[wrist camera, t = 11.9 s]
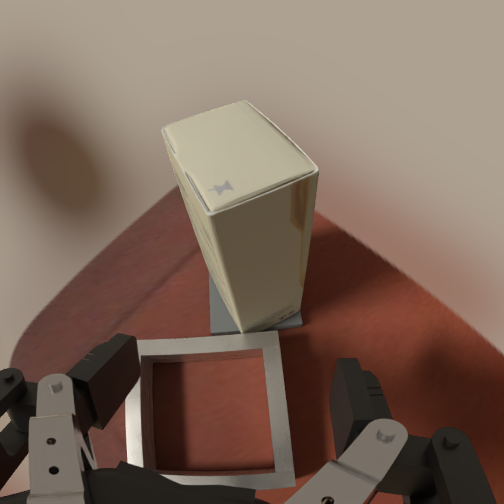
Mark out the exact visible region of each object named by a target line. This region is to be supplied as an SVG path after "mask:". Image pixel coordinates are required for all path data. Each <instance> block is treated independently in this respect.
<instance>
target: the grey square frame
mask: <svg viewBox="0 0 504 504" xmlns="http://www.w3.org/2000/svg"><path fill="white" fill-rule="evenodd" d="M137 346H138V353H139V360H140V367H141V373H140V378H139V380H138V382H137V383H136V385H135V386H134V388H133V389H132V390H131V392H130V393H129V394H128V396H127V397H126V440H127V458H128V463H129V464H133V465H136V466H139V467H143V468H146V469H150V470H152V471H154V472H156V473H158V474H160V475H162V476H164V477H166V478H168V479H170V480H172V481H175V482H177V483H179V484H183V485H226V486H234V487H242V488H251V489H256V490H266V489H277V488H286V487H294V486H296V484H295V475H294V465H293V456H292V447H291V438H290V429H289V420H288V412H287V403H286V394H285V386H284V377H283V369H282V361H281V353H280V345H279V337H278V330H275V331H266V332H256V333H246V334H235V335H223V336H210V337H196V338H179V339H158V340H137ZM262 356H263V357H264V367H265V377H266V386H267V396H268V405H269V415H270V424H271V434H272V444H273V453H274V463H275V468H268V469H256V470H240V471H172V470H157V469H156V456H155V441H154V419H153V363H176V362H199V361H215V360H229V359H241V358H252V357H262Z"/></svg>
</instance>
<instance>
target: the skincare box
mask: <svg viewBox="0 0 504 504" xmlns="http://www.w3.org/2000/svg"><path fill="white" fill-rule="evenodd" d="M161 131H162V135H163V138H164V142H165V145H166V148H167V151H168V154H169V157H170V160H171V163H172V167H173V169H174V173H175V175H176V179H177V182H178V185H179V188H180V191H181V194H182V196H183V199H184V202H185V205H186V208H187V211H188V214H189V217H190V220H191V222H192V225H193V228H194V231H195V234H196V237H197V239H198V242H199V245H200V248H201V251H202V253H203V256H204V259H205V262H206V264H207V267H208V270H209V272H210V274H211V276H212V279H213V281H214V283H215V285H216V287H217V289H218V291H219V293H220V295H221V297H222V299H223V301H224V303H225V305H226V307H227V309H228V311H229V313H230V314H231V316H232V318H233V320H234V322H235V323H236V325H237V327H238V329H239V330H240V332H241V334H246V333H256V332H259V331H262V330H264V329H266V328H268V327H270V326H272V325H274V324H276V323H278V322H280V321H282V320H284V319H286V318H287V317H289V316H291V315H293V314H294V313H296V312H298V311H299V310H300V307H301V301H302V294H303V288H304V281H305V275H306V269H307V262H308V254H309V247H310V241H311V233H312V225H313V217H314V208H315V199H316V192H317V182H318V176H319V169H318V167H317V166H316V165H315V164H314V163H313V161H312V160H311V159H310V158H309V157H308V156H307V155H306V154H305V153H304V152H303V150H301V148H300V147H299V146H298V145H297V144H296V143H295V142H294V141H293V140H292V139H290V138H289V137H288V136H287V135H286V134H285V133H284V132H283V131H282V130H281V129H280V128H279V127H277V126H276V125H275V124H274V123H273V122H272V121H271V120H270V119H268V118H267V117H266V116H265V115H264V114H263V113H261V112H260V111H259V110H258V109H256V108H255V107H254V106H252V105H251V104H250V103H249V102H248V101H246V100H242V101H238V102H235V103H233V104H229V105H225V106H222V107H219V108H216V109H213V110H209V111H206V112H203V113H200V114H197V115H194V116H191V117H188V118H185V119H182V120H179V121H176V122H174V123H171V124H168V125H165V126H164V127H163V128H162V130H161Z"/></svg>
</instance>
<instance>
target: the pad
mask: <svg viewBox="0 0 504 504" xmlns="http://www.w3.org/2000/svg"><path fill="white" fill-rule="evenodd" d="M209 294H210V323H211V334H212V336H215V335H227V334H239V333H241V332H240V330H239V329H238V327H237V325H236V323H235V322H234V320H233V318H232V316H231V314H230V313H229V311H228V309H227V307H226V305H225V303H224V301H223V299H222V297H221V295H220V293H219V291H218V289H217V287H216V285H215V283H214V281H213V279H212V276H211V274H210V272H209ZM294 327H302V318H301V312H300V310H299V311H298V312H296V313H294V314H293V315H291V316H289V317H287V318H286V319H284V320H282V321H280V322H278V323H276V324H274V325H272V326H270V327H268V328H266V329H264V330H262V331H269V330H278V329H286V328H294Z"/></svg>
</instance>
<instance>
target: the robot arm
mask: <svg viewBox="0 0 504 504" xmlns="http://www.w3.org/2000/svg"><path fill="white" fill-rule="evenodd" d="M140 373H141V367H140V360H139V353H138V346H137V340H136V338H135V337H134V336H130V335H125V334H120V333H117V334H116V335H115V336H113V337H112V338H111V339H110V340H109V341H108V342H105V343H103V344H100V345H98V346H96V347H95V348H94V349H93V350H91V351H90V352H89V354H87V355H86V356H85V357H84V358H83V359H82V360H81V361H79V362H78V363H77V364H76V365H75V366H74V367H73V368H72V369H71V370H70V371H69V372H68V373H67V374H65V375H63V374H51V375H48V376H46V377H44V378H43V379H41V380H40V382H39V383H33V382H26V381H25V379H24V376H23V374H22V372H21V371H20V370H18V369H15V368H7V369H4V370H1V371H0V417H1V416H2V415H3V414H4V413H5V412H6V411H7V413H8V415H9V417H10V419H11V421H10V423H9V424H8V425H7V426H6V427H5V428H4V429H3V430H2V431H1V432H0V490H1V489H2V488H3V486H4V485H5V484H6V482H7V481H8V479H9V478H10V477H11V475H12V474H13V473H14V471H15V470H16V469H17V467H18V466H19V465H20V463H21V462H22V461H23V460H24V458H25V457H26V456H27V454H28V453H29V477H30V490H27V491H24V492H20V493H16V494H12V495H8V496H4V497H0V504H270V503H268V502H265V501H263V500H260V499H257V498H255V491H256V489H251V488H242V487H234V486H226V485H183V484H179V483H177V482H175V481H172V480H170V479H168V478H166V477H164V476H162V475H160V474H158V473H156V472H154V471H152V470H150V469H146V468H143V467H139V466H136V465H133V464H129V463H126V462H123V461H120V463H119V465H118V466H117V468H116V469H115V468H100V469H98V467H97V463H96V459H95V454H94V450H93V445H92V441H91V436H90V433H89V429H90V428H91V426H92V427H95V428H98V429H101V430H103V429H104V427H105V426H106V425H107V423H108V422H109V421H110V419H111V418H112V416H113V415H114V414H115V412H116V411H117V410H118V408H119V407H120V405H121V404H122V403H123V401H124V400H125V399H126V397H127V396H128V394H129V393H130V392H131V390H132V389H133V388H134V386H135V385H136V383H137V382H138V380H139V378H140ZM330 411H331V418H332V426H333V434H334V442H335V450H336V459H337V461H335V460H330V461H329V462H328V463H327V464H325V465H324V466H323V467H322V469H321V470H320V471H319V472H317V473H316V474H315V475H314V476H313V477H312V478H311V479H310V480H309V481H308V482H307V483H306V484H305V485H304V486H303V487H302V488H301V489H300V490H299V491H297V492H296V493H295V494H294V495H293V496H292V497H291V498H290V499H289V500H287V501H286V502H285V503H284V504H370V503H371V501H372V500H373V499H374V497H375V496H376V494H377V493H378V492H384V493H391V494H398V495H402V497H403V503H404V504H497V503H496V500H495V498H494V495H493V493H492V490H491V488H490V485H489V483H488V480H487V478H486V475H485V473H484V471H483V468H482V466H481V464H480V461H479V459H478V457H477V455H476V452H475V450H474V448H473V446H472V444H471V442H470V440H469V438H468V436H467V435H466V434H465V433H464V432H463V431H461V430H459V429H456V428H452V427H445V428H441V429H439V430H437V431H436V432H435V433H434V434H433V436H432V438H426V437H418V436H412V435H409V434H408V433H407V430H406V428H405V427H404V426H403V425H402V424H400V423H399V422H397V421H394V420H393V418H392V416H391V413H390V410H389V408H388V405H387V402H386V400H385V397H384V396H383V392H382V389H381V386H380V384H379V381H378V379H377V378H376V377H375V376H374V375H373V374H372V373H371V372H370V371H362V370H361V367H360V364H359V362H358V359H357V358H338V359H337V362H336V366H335V371H334V376H333V381H332V386H331V390H330Z"/></svg>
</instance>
